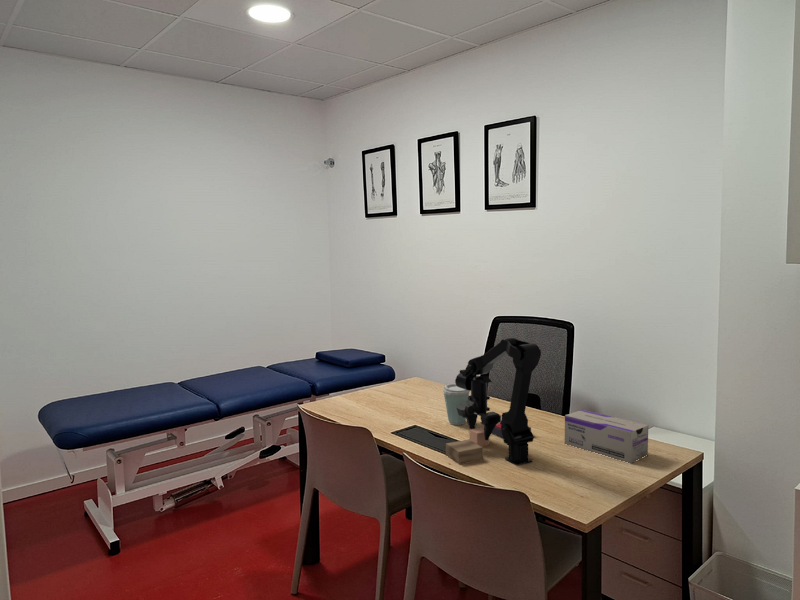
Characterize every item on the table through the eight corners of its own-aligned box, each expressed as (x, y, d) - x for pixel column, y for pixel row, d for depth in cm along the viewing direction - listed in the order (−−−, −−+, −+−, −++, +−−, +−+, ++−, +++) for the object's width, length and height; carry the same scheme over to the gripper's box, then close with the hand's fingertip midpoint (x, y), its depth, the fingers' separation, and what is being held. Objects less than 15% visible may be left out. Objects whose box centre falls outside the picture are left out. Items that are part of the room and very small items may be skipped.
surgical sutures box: (564, 444, 208) (564, 415, 207) (582, 438, 214) (582, 409, 213) (630, 464, 188) (631, 432, 187) (647, 456, 195) (648, 425, 194)
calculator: (506, 417, 230) (531, 425, 217) (506, 428, 230) (531, 436, 217) (483, 421, 225) (507, 430, 212) (483, 432, 225) (508, 441, 212)
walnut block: (482, 460, 194) (482, 447, 194) (458, 465, 190) (458, 451, 190) (469, 452, 202) (468, 439, 202) (445, 456, 199) (445, 443, 198)
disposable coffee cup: (474, 421, 236) (474, 384, 235) (463, 428, 227) (463, 390, 226) (450, 417, 242) (450, 381, 240) (438, 424, 233) (438, 387, 231)
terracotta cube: (489, 445, 208) (489, 431, 208) (477, 447, 206) (477, 433, 206) (481, 440, 213) (481, 427, 212) (469, 443, 211) (469, 429, 210)
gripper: (446, 390, 213) (446, 432, 214) (474, 402, 196) (474, 447, 197) (472, 386, 217) (472, 427, 219) (501, 398, 201) (502, 442, 202)
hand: (479, 436), depth 209 cm, fingers open, 9 cm apart
